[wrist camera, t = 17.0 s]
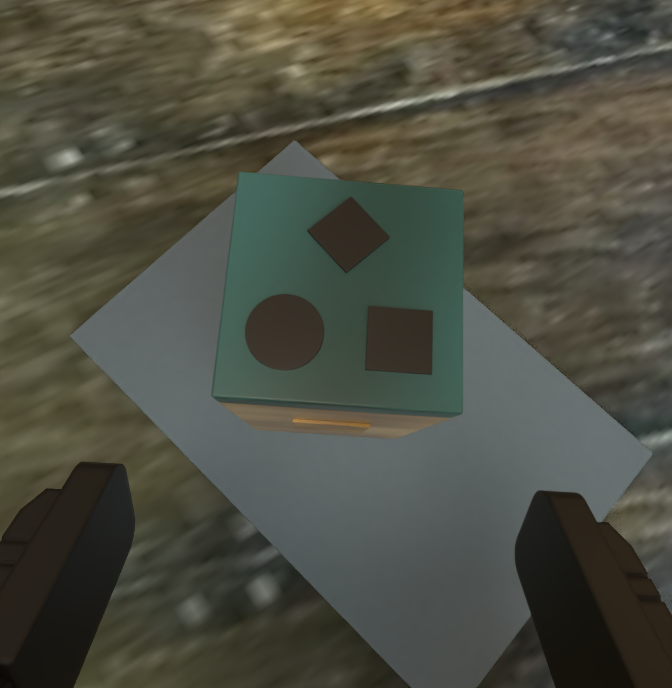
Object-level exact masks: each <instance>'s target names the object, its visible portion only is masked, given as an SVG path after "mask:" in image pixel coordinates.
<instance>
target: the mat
mask: <svg viewBox="0 0 672 688" xmlns="http://www.w3.org/2000/svg"><path fill="white" fill-rule="evenodd" d="M257 173H263V174H275V175H287V176H299V177H311V178H323V179H335V180H340V179H339V178H338V177H336V176H335V175H334V174H333V173H332V172H331V171H330V170H328V169H327V168H326V167H325V166H324V165H323V164H322V163H320V162H319V161H318V160H317V159H316V158H315V157H314V156H312V155H311V154H310V153H309V152H308V151H307V150H306V149H304V148H303V147H302V146H301V145H300V144H299V143H297V142H296V141H295V140H294V141H293V142H292V143H291V144H289V145H288V146H287V147H286V148H285V149H284V150H282V151H281V152H280V153H279V154H278V155H277V156H276V157H274V158H273V159H272V160H271V161H270V162H269V163H267V164H266V165H265V166H264V167H263V168H262V169H261V170H259V171H258V172H257ZM235 196H236V191H235V192H234V193H233V194H232V195H231V196H229V197H228V198H227V199H226V200H225V201H224V202H223V203H221V204H220V205H219V206H218V207H217V208H216V209H215V210H213V211H212V212H211V213H210V214H209V215H208V216H206V217H205V218H204V219H203V220H202V221H201V222H200V223H198V224H197V225H196V226H195V227H194V228H193V229H191V230H190V231H189V232H188V233H187V234H186V235H185V236H183V237H182V238H181V239H180V240H179V241H178V242H177V243H175V244H174V245H173V246H172V247H171V248H170V249H168V250H167V251H166V252H165V253H164V254H163V255H162V256H160V257H159V258H158V259H157V260H156V261H155V262H154V263H152V264H151V265H150V266H149V267H148V268H147V269H145V270H144V271H143V272H142V273H141V274H140V275H139V276H137V277H136V278H135V279H134V280H133V281H132V282H130V283H129V284H128V285H127V286H126V287H125V288H124V289H122V290H121V291H120V292H119V293H118V294H117V295H116V296H114V297H113V298H112V299H111V300H110V301H109V302H107V303H106V304H105V305H104V306H103V307H102V308H101V309H99V310H98V311H97V312H96V313H95V314H94V315H92V316H91V317H90V318H89V319H88V320H87V321H86V322H84V323H83V324H82V325H81V326H80V327H79V328H78V329H76V330H75V331H74V332H73V333H72V334H71V335H70V337H71V338H72V339H73V340H74V341H75V342H76V343H77V344H78V345H79V346H80V347H81V348H82V349H83V350H84V351H85V352H86V353H87V355H88V356H89V357H90V358H91V359H92V360H93V361H94V362H95V363H96V364H97V365H98V366H99V367H100V368H101V369H102V370H103V371H104V372H105V373H106V374H107V375H108V376H109V377H110V378H111V379H112V380H113V381H114V382H115V383H116V384H117V385H118V386H119V387H120V389H121V390H122V391H123V392H124V393H125V394H126V395H127V396H128V397H129V398H130V399H131V400H132V401H133V402H134V403H135V404H136V405H137V406H138V407H139V408H140V409H141V410H142V411H143V412H144V413H145V414H146V415H147V416H148V417H149V418H150V419H151V420H152V421H153V423H154V424H155V425H156V426H157V427H158V428H159V429H160V430H161V431H162V432H163V433H164V434H165V435H166V436H167V437H168V438H169V439H170V440H171V441H172V442H173V443H174V444H175V445H176V446H177V447H178V448H179V449H180V450H181V451H182V452H183V453H184V454H185V455H186V457H187V458H188V459H189V460H190V461H191V462H192V463H193V464H194V465H195V466H196V467H197V468H198V469H199V470H200V471H201V472H202V473H203V474H204V475H205V476H206V477H207V478H208V479H209V480H210V481H211V482H212V483H213V484H214V485H215V486H216V487H217V488H218V489H219V490H220V492H221V493H222V494H223V495H224V496H225V497H226V498H227V499H228V500H229V501H230V502H231V503H232V504H233V505H234V506H235V507H236V508H237V509H238V510H239V511H240V512H241V513H242V514H243V515H244V516H245V517H246V518H247V519H248V520H249V521H250V522H251V523H252V524H253V526H254V527H255V528H256V529H257V530H258V531H259V532H260V533H261V534H262V535H263V536H264V537H265V538H266V539H267V540H268V541H269V542H270V543H271V544H272V545H273V546H274V547H275V548H276V549H277V550H278V551H279V552H280V553H281V554H282V555H283V556H284V557H285V558H286V560H287V561H288V562H289V563H290V564H291V565H292V566H293V567H294V568H295V569H296V570H297V571H298V572H299V573H300V574H301V575H302V576H303V577H304V578H305V579H306V580H307V581H308V582H309V583H310V584H311V585H312V586H313V587H314V588H315V589H316V590H317V591H318V592H319V593H320V595H321V596H322V597H323V598H324V599H325V600H326V601H327V602H328V603H329V604H330V605H331V606H332V607H333V608H334V609H335V610H336V611H337V612H338V613H339V614H340V615H341V616H342V617H343V618H344V619H345V620H346V621H347V622H348V623H349V624H350V625H351V626H352V627H353V629H354V630H355V631H356V632H357V633H358V634H359V635H360V636H361V637H362V638H363V639H364V640H365V641H366V642H367V643H368V644H369V645H370V646H371V647H372V648H373V649H374V650H375V651H376V652H377V653H378V654H379V655H380V656H381V657H382V658H383V659H384V660H385V661H386V663H387V664H388V665H389V666H390V667H391V668H392V669H393V670H394V671H395V672H396V673H397V674H398V675H399V676H400V677H401V678H402V679H403V680H404V681H405V682H406V683H407V684H408V685H409V686H410V687H411V688H477V687H478V685H479V684H480V683H481V681H482V680H483V679H484V677H485V676H486V675H487V673H488V672H489V671H490V669H491V668H492V667H493V665H494V664H495V663H496V661H497V660H498V659H499V657H500V656H501V655H502V653H503V652H504V651H505V649H506V648H507V647H508V645H509V644H510V643H511V641H512V640H513V639H514V638H515V636H516V635H517V634H518V632H519V631H520V630H521V628H522V627H523V626H524V624H525V623H526V622H527V620H528V619H529V618H530V616H531V613H530V610H529V607H528V604H527V601H526V598H525V595H524V592H523V589H522V586H521V583H520V580H519V577H518V573H517V570H516V565H515V543H516V539H517V536H518V534H519V531H520V528H521V526H522V523H523V521H524V518H525V516H526V513H527V511H528V508H529V506H530V503H531V501H532V498H533V496H534V494H535V493H536V492H537V491H539V490H544V491H561V492H577V493H579V494H581V495H582V496H583V497H584V499H585V500H586V502H587V504H588V506H589V508H590V510H591V511H592V513H593V515H594V517H595V519H596V521H597V522H602V521H603V519H604V518H605V517H606V515H607V514H608V513H609V511H610V510H611V509H612V507H613V506H614V505H615V503H616V502H617V501H618V499H619V498H620V497H621V495H622V494H623V493H624V491H625V490H626V489H627V487H628V486H629V485H630V483H631V482H632V481H633V479H634V478H635V477H636V475H637V474H638V473H639V472H640V470H641V469H642V468H643V466H644V465H645V464H646V462H647V461H648V460H649V458H650V457H651V456H652V454H653V453H652V452H651V451H650V450H649V449H648V448H647V447H645V446H644V445H643V444H642V443H641V442H640V441H639V440H637V439H636V438H635V437H634V436H633V435H632V434H631V433H629V432H628V431H627V430H626V429H625V428H624V427H623V426H621V425H620V424H619V423H618V422H617V421H616V420H615V419H613V418H612V417H611V416H610V415H609V414H608V413H607V412H605V411H604V410H603V409H602V408H601V407H600V406H599V405H597V404H596V403H595V402H594V401H593V400H592V399H591V398H589V397H588V396H587V395H586V394H585V393H584V392H583V391H581V390H580V389H579V388H578V387H577V386H576V385H575V384H573V383H572V382H571V381H570V380H569V379H568V378H566V377H565V376H564V375H563V374H562V373H561V372H560V371H558V370H557V369H556V368H555V367H554V366H553V365H552V364H550V363H549V362H548V361H547V360H546V359H545V358H544V357H542V356H541V355H540V354H539V353H538V352H537V351H536V350H534V349H533V348H532V347H531V346H530V345H529V344H528V343H526V342H525V341H524V340H523V339H522V338H521V337H520V336H518V335H517V334H516V333H515V332H514V331H513V330H512V329H510V328H509V327H508V326H507V325H506V324H505V323H504V322H502V321H501V320H500V319H499V318H498V317H497V316H496V315H494V314H493V313H492V312H491V311H490V310H489V309H488V308H486V307H485V306H484V305H483V304H482V303H481V302H480V301H478V300H477V299H476V298H475V297H474V296H473V295H471V294H470V293H469V292H468V291H467V290H466V289H465V288H463V413H462V414H461V415H458V416H455V417H453V418H451V419H448V420H445V421H443V422H440V423H437V424H434V425H432V426H429V427H426V428H423V429H421V430H418V431H415V432H413V433H410V434H407V435H404V436H402V437H399V438H396V439H385V438H370V437H355V436H340V435H325V434H310V433H295V432H280V431H265V430H256V429H254V428H253V427H252V426H250V425H249V424H247V423H246V422H245V421H243V420H242V419H241V418H239V417H238V416H237V415H235V414H234V413H232V412H231V411H230V410H228V409H227V408H226V407H224V406H223V405H222V404H220V403H219V402H218V401H217V400H215V399H214V398H213V397H212V396H211V391H212V383H213V375H214V367H215V359H216V351H217V343H218V334H219V326H220V318H221V310H222V302H223V294H224V286H225V278H226V269H227V261H228V253H229V245H230V237H231V229H232V221H233V213H234V205H235Z"/></svg>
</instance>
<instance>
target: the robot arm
mask: <svg viewBox="0 0 672 688" xmlns="http://www.w3.org/2000/svg"><path fill="white" fill-rule="evenodd" d="M134 530H135V515H134V509H133V504H132V499H131V493H130V488H129V483H128V477H127V472H126V468H125V466H124V465H123V464H115V463H98V462H80V463H79V464H78V465H77V466H76V467H75V468H74V470H73V471H72V473H71V474H70V476H69V478H68V479H67V481H66V482H65V484H64V486H63V487H62V489H45V490H44V491H43V492H42V493H40V494H39V495H38V496H37V497H36V498H34V499H33V500H32V501H31V502H29V503H28V504H27V505H26V506H24V507H23V508H22V509H21V510H20V511H19V512H18V514H17V515H16V517H15V518H14V520H13V521H12V523H11V524H10V526H9V527H8V529H7V530H6V531H5V533H4V534H3V536H2V541H1V542H0V688H73V687H74V685H75V683H76V680H77V678H78V675H79V673H80V670H81V668H82V665H83V663H84V661H85V658H86V656H87V653H88V651H89V648H90V646H91V644H92V641H93V639H94V636H95V634H96V631H97V629H98V626H99V624H100V622H101V619H102V617H103V614H104V612H105V609H106V607H107V605H108V602H109V600H110V597H111V595H112V592H113V590H114V587H115V585H116V583H117V580H118V578H119V575H120V573H121V570H122V568H123V566H124V563H125V561H126V558H127V556H128V553H129V551H130V548H131V545H132V541H133V537H134ZM515 565H516V570H517V573H518V577H519V580H520V583H521V586H522V589H523V592H524V595H525V598H526V601H527V604H528V607H529V610H530V613H531V616H532V618H533V621H534V624H535V627H536V630H537V633H538V636H539V639H540V642H541V645H542V648H543V651H544V654H545V657H546V660H547V663H548V666H549V669H550V672H551V675H552V678H553V681H554V684H555V687H556V688H672V615H671V613H670V611H669V610H668V608H667V606H666V604H665V603H664V602H662V601H661V599H660V597H661V596H660V594H659V592H658V591H657V589H656V587H655V585H654V584H653V582H652V580H651V579H648V577H647V574H648V573H647V572H646V570H645V568H644V566H643V565H642V563H641V561H640V559H639V558H638V556H637V554H636V552H635V551H634V549H633V547H632V546H631V545H630V544H629V543H628V542H627V541H626V540H625V539H624V538H623V537H622V536H621V535H620V534H619V533H618V532H617V531H616V530H615V529H614V528H613V527H612V526H611V525H610V524H609V523H608V522H597V521H596V519H595V517H594V515H593V513H592V511H591V510H590V508H589V506H588V504H587V502H586V500H585V499H584V497H583V496H582V495H581V494H579V493H577V492H561V491H544V490H539V491H537V492H536V493H535V494H534V496H533V498H532V501H531V503H530V506H529V508H528V511H527V513H526V516H525V518H524V521H523V523H522V526H521V528H520V531H519V534H518V536H517V539H516V543H515Z"/></svg>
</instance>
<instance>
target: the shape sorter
mask: <svg viewBox="0 0 672 688" xmlns="http://www.w3.org/2000/svg"><path fill="white" fill-rule="evenodd" d="M211 396H212V397H213V398H214V399H215V400H217V401H218V402H219V403H220V404H222V405H223V406H224V407H226V408H227V409H228V410H230V411H231V412H232V413H234V414H235V415H237V416H238V417H239V418H241V419H242V420H243V421H245V422H246V423H247V424H249V425H250V426H252V427H253V428H254V429H256V430H265V431H280V432H295V433H310V434H325V435H340V436H355V437H370V438H385V439H396V438H399V437H402V436H404V435H407V434H410V433H413V432H415V431H418V430H421V429H423V428H426V427H429V426H432V425H434V424H437V423H440V422H443V421H445V420H448V419H451V418H453V417H455V416H458V415H461V414H462V413H463V191H462V190H456V189H444V188H432V187H420V186H408V185H396V184H384V183H372V182H359V181H347V180H335V179H323V178H311V177H299V176H287V175H275V174H263V173H251V172H239V174H238V180H237V188H236V196H235V205H234V213H233V221H232V229H231V237H230V245H229V253H228V261H227V269H226V278H225V286H224V294H223V302H222V310H221V318H220V326H219V334H218V343H217V351H216V359H215V367H214V375H213V383H212V391H211Z"/></svg>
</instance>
